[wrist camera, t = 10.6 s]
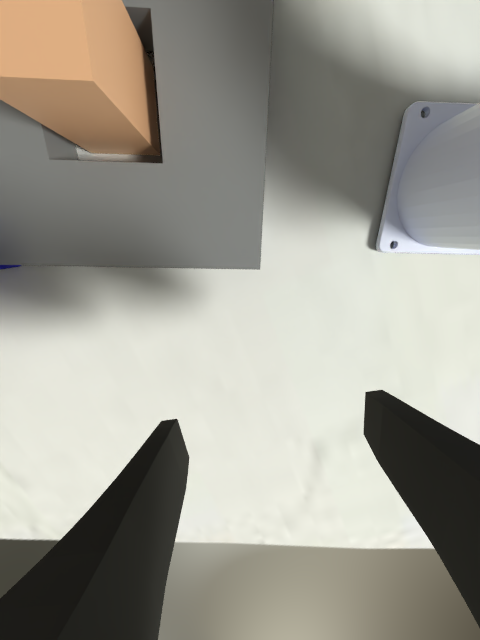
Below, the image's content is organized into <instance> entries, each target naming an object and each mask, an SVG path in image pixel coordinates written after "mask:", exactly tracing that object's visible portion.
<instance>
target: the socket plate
mask: <svg viewBox="0 0 480 640" xmlns="http://www.w3.org/2000/svg"><path fill="white" fill-rule="evenodd" d="M122 2H123V4H124V6H125V8H126V10H127V12H128V14H129V17H130V19H131V21H132V23H133V25H134V27H135V29H136V31H137V34H138V36H139V38H140V40H141V42H142V44H143V46H144V48H145V51H152V52H154V58H155V70H156V83H157V96H158V108H159V121H160V133H161V146H162V159H163V163H137V162H108V161H78V157H77V152H76V146H75V143H73V142H72V141H70V140H68V139H67V138H65V137H63V136H62V135H60V134H58V133H56V132H55V131H53V130H51V129H50V128H48V127H46V126H45V125H43V124H41V123H39V122H38V121H36V120H34V119H33V118H31V117H29V116H28V115H26V114H24V113H22V112H21V111H19V110H17V109H16V108H14V107H12V106H10V105H9V104H7V103H5V102H4V101H2V100H0V265H40V266H96V267H151V268H206V269H260V260H261V240H262V221H263V201H264V181H265V161H266V142H267V122H268V102H269V83H270V63H271V43H272V23H273V4H274V0H122Z"/></svg>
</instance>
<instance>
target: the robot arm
mask: <svg viewBox="0 0 480 640" xmlns="http://www.w3.org/2000/svg"><path fill="white" fill-rule="evenodd" d="M422 110H423V111H424V113H425V117H424V118H422V117H421V111H422ZM392 241H393V242H394V246H393V247H392V248H390V244H391V242H392ZM376 249H377V250H378V251H379V252H384V253H428V254H476V255H480V103H479V104H472V103H450V102H427V101H417V102H414V103H413V104H411V105H410V106H409V107H408V108H407V109H406V110H405V113H404V116H403V120H402V125H401V130H400V134H399V139H398V144H397V148H396V153H395V158H394V163H393V167H392V172H391V177H390V181H389V186H388V191H387V195H386V200H385V205H384V209H383V214H382V219H381V223H380V228H379V233H378V238H377V242H376ZM364 435H365V437H366V439H367V441H368V443H369V445H370V447H371V449H372V451H373V453H374V455H375V457H376V459H377V461H378V462H379V464H380V466H381V467H382V469H383V470H384V472H385V473H386V475H387V476H388V478H389V479H390V481H391V482H392V484H393V485H394V487H395V489H396V490H397V492H398V493H399V495H400V496H401V498H402V499H403V501H404V502H405V504H406V505H407V507H408V508H409V510H410V511H411V513H412V514H413V516H414V517H415V519H416V520H417V522H418V523H419V525H420V526H421V528H422V529H423V531H424V532H425V534H426V535H427V537H428V538H429V540H430V542H431V543H432V545H433V546H434V548H435V550H436V551H437V553H438V554H439V556H440V558H441V559H442V561H443V563H444V565H445V567H446V568H447V570H448V572H449V574H450V575H451V577H452V579H453V581H454V582H455V584H456V586H457V588H458V589H459V591H460V593H461V595H462V597H463V598H464V600H465V602H466V604H467V606H468V607H469V609H470V611H471V613H472V615H473V616H474V618H475V620H476V622H477V624H478V625H479V627H480V445H479V444H477V443H475V442H473V441H471V440H469V439H468V438H466V437H464V436H462V435H460V434H458V433H457V432H455V431H453V430H451V429H449V428H448V427H446V426H444V425H442V424H441V423H439V422H437V421H435V420H434V419H432V418H430V417H428V416H427V415H425V414H423V413H421V412H420V411H418V410H416V409H415V408H413V407H411V406H409V405H408V404H406V403H404V402H403V401H401V400H399V399H397V398H396V397H394V396H392V395H390V394H389V393H387V392H385V391H383V390H378V391H371V392H366V395H365V416H364ZM188 465H189V455H188V452H187V449H186V446H185V442H184V439H183V436H182V433H181V429H180V426H179V423H178V420H177V419H172V420H165V421H161V422H160V424H159V425H158V426H157V427H156V429H155V430H154V431H153V433H152V434H151V435H150V436H149V438H148V439H147V440H146V441H145V443H144V444H143V445H142V447H141V448H140V449H139V450H138V452H137V453H136V454H135V456H134V457H133V458H132V459H131V460H130V462H129V463H128V464H127V465H126V467H125V468H124V469H123V470H122V472H121V473H120V474H119V475H118V477H117V478H116V479H115V480H114V481H113V482H112V484H111V485H110V486H109V487H108V488H107V489H106V491H105V492H104V493H103V494H102V495H101V496H100V498H99V499H98V500H97V501H96V502H95V503H94V505H93V506H92V507H91V508H90V509H89V510H88V511H87V512H86V513H85V515H84V516H83V517H82V518H81V519H80V520H79V521H78V522H77V523H76V524H75V525H74V526H73V528H72V529H71V530H70V531H69V532H68V533H67V534H66V535H65V536H64V537H63V538H62V539H61V540H60V541H59V542H58V543H57V544H56V545H55V546H54V547H53V548H52V549H51V550H50V551H49V552H48V553H47V554H46V555H45V556H44V557H43V559H41V560H40V561H39V562H38V563H37V564H36V565H35V566H34V567H33V568H32V569H31V570H30V571H29V572H28V573H27V574H26V575H25V576H24V577H22V578H21V579H20V580H19V581H18V582H17V583H16V584H15V585H14V586H13V587H12V588H11V589H10V590H9V591H8V592H7V593H6V594H5V595H4V596H3V597H2V598H0V640H158V633H159V627H160V620H161V613H162V606H163V599H164V592H165V586H166V580H167V575H168V570H169V565H170V561H171V556H172V551H173V547H174V542H175V537H176V533H177V528H178V524H179V519H180V514H181V510H182V505H183V500H184V495H185V490H186V484H187V475H188Z"/></svg>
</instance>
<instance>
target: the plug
mask: <svg viewBox="0 0 480 640" xmlns="http://www.w3.org/2000/svg"><path fill="white" fill-rule="evenodd" d="M0 100H2V101H4V102H5V103H7V104H9V105H10V106H12V107H14V108H16V109H17V110H19V111H21V112H22V113H24V114H26V115H28V116H29V117H31V118H33V119H34V120H36V121H38V122H39V123H41V124H43V125H45V126H46V127H48V128H50V129H51V130H53V131H55V132H56V133H58V134H60V135H62V136H63V137H65V138H67V139H68V140H70V141H72V142H73V143H75V144H77V145H79V146H80V147H82V148H84V149H85V150H87V151H89V152H90V153H103V154H131V155H158V156H160V145H159V133H158V120H157V108H156V96H155V83H154V71H153V65H152V63H151V61H150V59H149V57H148V55H147V53H146V51H145V48H144V46H143V44H142V42H141V40H140V38H139V36H138V34H137V31H136V29H135V27H134V25H133V23H132V21H131V19H130V17H129V14H128V12H127V10H126V8H125V6H124V4H123V2H122V0H0Z"/></svg>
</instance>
